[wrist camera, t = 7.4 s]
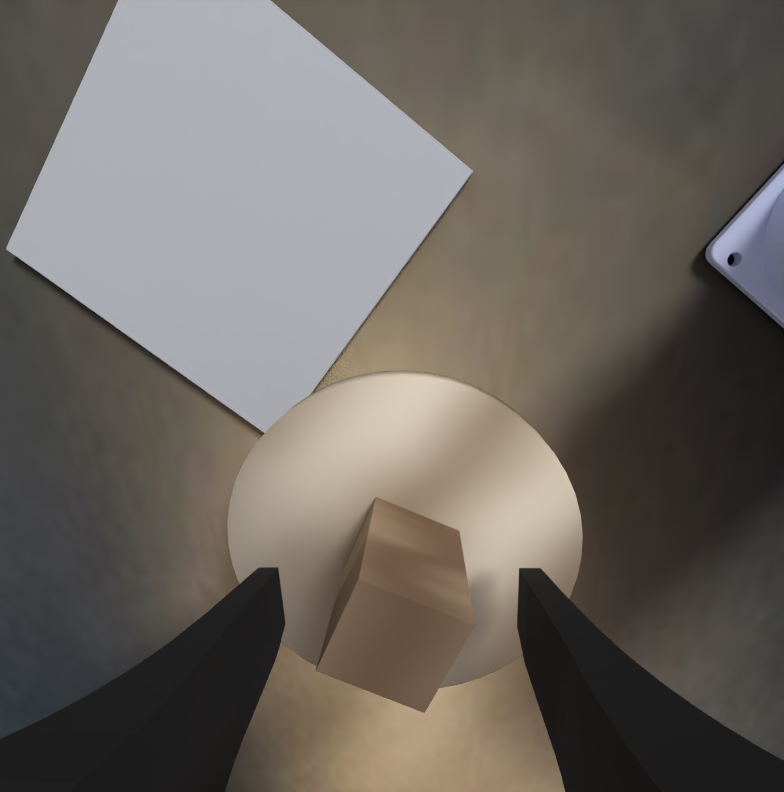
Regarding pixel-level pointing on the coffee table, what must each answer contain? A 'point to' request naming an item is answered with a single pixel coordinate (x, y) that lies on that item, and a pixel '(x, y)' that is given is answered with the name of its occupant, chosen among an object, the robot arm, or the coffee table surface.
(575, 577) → the lid
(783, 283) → the robot arm
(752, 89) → the coffee table surface
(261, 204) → the mat
